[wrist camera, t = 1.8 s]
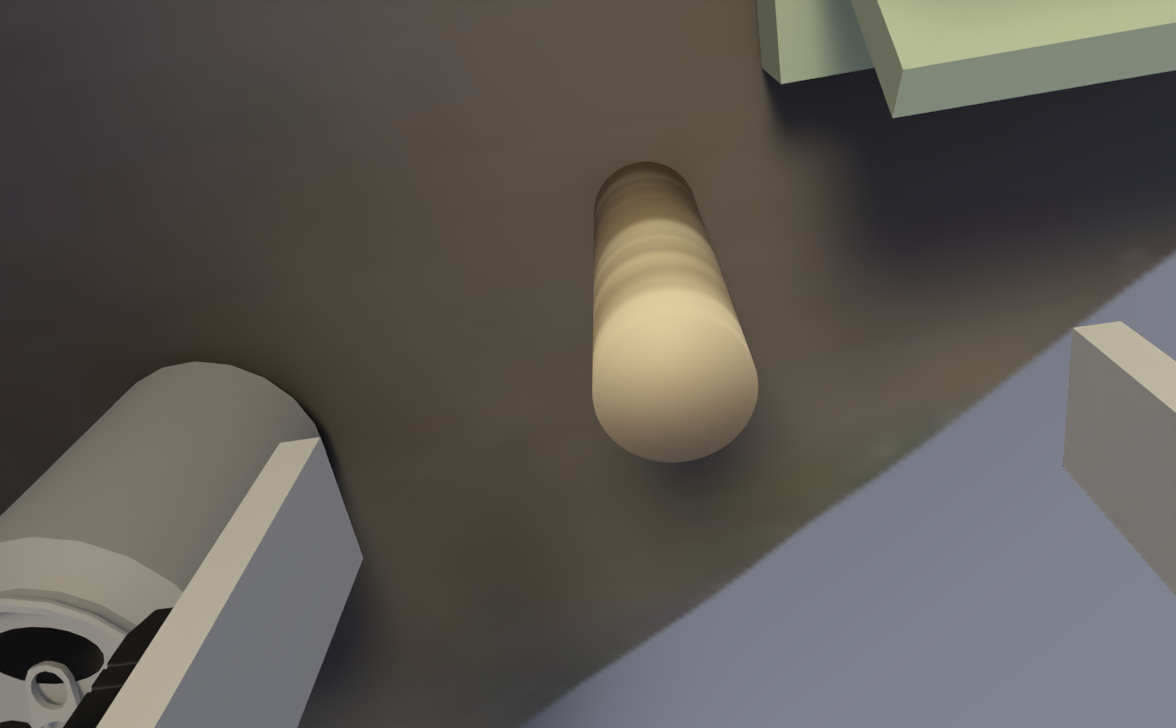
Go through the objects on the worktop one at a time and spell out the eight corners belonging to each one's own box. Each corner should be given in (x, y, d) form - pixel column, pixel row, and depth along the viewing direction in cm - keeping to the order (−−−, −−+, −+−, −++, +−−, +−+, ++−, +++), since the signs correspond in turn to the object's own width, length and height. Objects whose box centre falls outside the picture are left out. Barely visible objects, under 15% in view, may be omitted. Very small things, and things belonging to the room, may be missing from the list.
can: (313, 345, 30) (152, 579, 19) (351, 523, 33) (233, 808, 22) (98, 354, 30) (-180, 591, 19) (157, 530, 33) (-52, 815, 23)
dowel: (586, 171, 27) (578, 330, 16) (689, 153, 27) (750, 304, 16) (603, 267, 28) (606, 472, 18) (701, 251, 28) (764, 450, 17)
